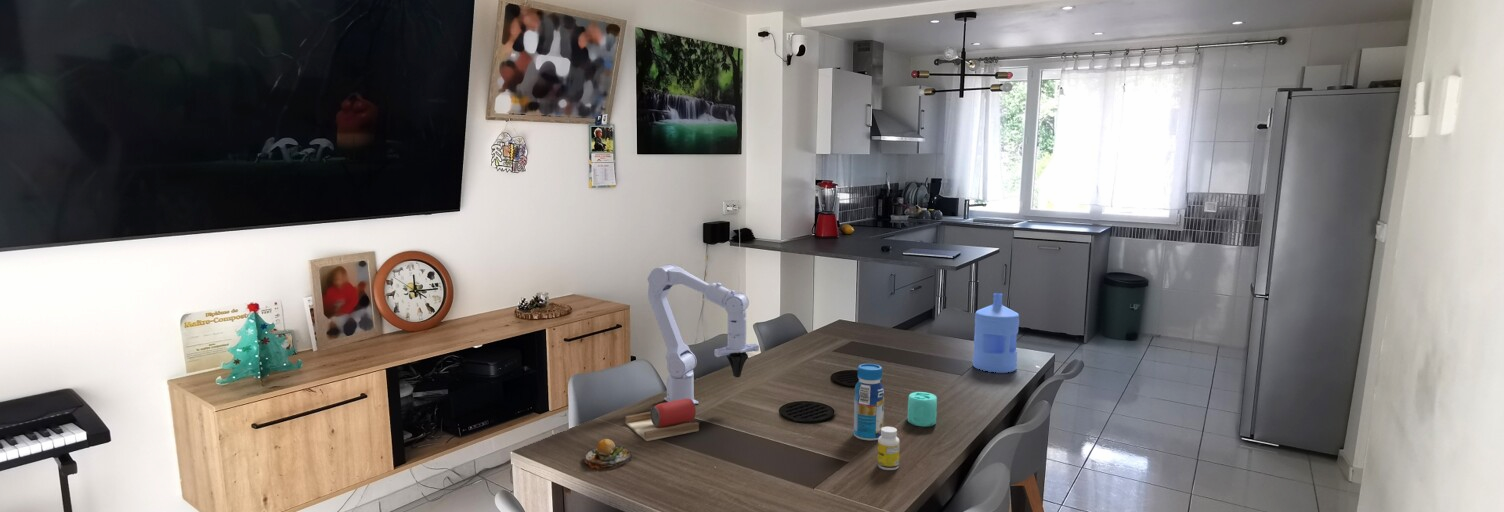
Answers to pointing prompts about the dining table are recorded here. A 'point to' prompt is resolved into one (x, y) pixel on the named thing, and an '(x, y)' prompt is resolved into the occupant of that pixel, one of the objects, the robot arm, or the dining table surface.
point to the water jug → (996, 338)
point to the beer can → (673, 412)
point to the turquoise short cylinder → (922, 409)
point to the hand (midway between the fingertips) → (736, 376)
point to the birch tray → (657, 427)
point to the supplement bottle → (888, 449)
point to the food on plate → (608, 455)
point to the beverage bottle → (868, 403)
